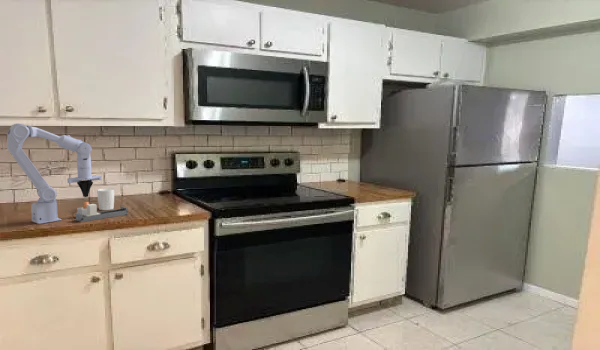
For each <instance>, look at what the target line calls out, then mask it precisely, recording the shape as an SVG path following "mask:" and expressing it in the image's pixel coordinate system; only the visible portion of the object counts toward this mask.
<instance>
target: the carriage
mask: <svg viewBox="0 0 600 350" xmlns="http://www.w3.org/2000/svg"><path fill="white" fill-rule="evenodd" d="M97 206H98V205H97V204H96V203H89V204H88V205H87V214H85V215H84V217H87V216H93V215H99V214H100V213H98V207H97Z"/></svg>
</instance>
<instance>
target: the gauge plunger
mask: <svg viewBox="0 0 600 350" xmlns="http://www.w3.org/2000/svg"><path fill="white" fill-rule="evenodd" d="M82 204H83V206H82V207H83V209H86V208H87V205H88V204H90V201H84V202H82Z"/></svg>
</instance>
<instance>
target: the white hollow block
mask: <svg viewBox="0 0 600 350" xmlns="http://www.w3.org/2000/svg"><path fill="white" fill-rule="evenodd" d="M76 211H77V212H76V213H79V214H82V215H85V214H87V208H86V209H83V206H80V207H77V208H76Z"/></svg>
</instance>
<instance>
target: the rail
mask: <svg viewBox="0 0 600 350" xmlns="http://www.w3.org/2000/svg"><path fill="white" fill-rule="evenodd" d="M97 213H100V214H99V215H93V216H87V217H84V215H82V214H79V213H77V212H76V213H75V221H77V222H79V223H83V222H91V221H97V220H101V219H106V218H107V219H108V218H114V217H119V216H125V215H129V207H127V206H123V205H121V206H120V208H118V209H117V208H116V209H111V210H103V211H99V212H98V211H97Z"/></svg>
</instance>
